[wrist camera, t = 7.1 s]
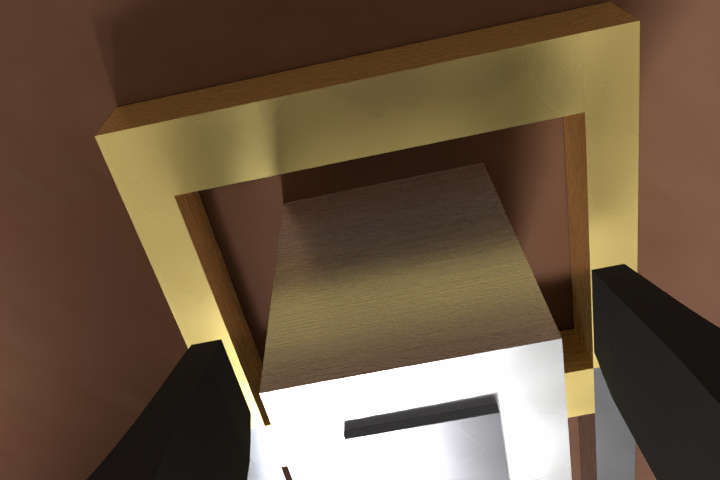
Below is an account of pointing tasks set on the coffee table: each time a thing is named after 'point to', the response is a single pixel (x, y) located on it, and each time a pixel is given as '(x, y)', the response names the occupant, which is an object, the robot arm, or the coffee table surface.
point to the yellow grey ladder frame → (386, 134)
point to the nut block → (412, 338)
